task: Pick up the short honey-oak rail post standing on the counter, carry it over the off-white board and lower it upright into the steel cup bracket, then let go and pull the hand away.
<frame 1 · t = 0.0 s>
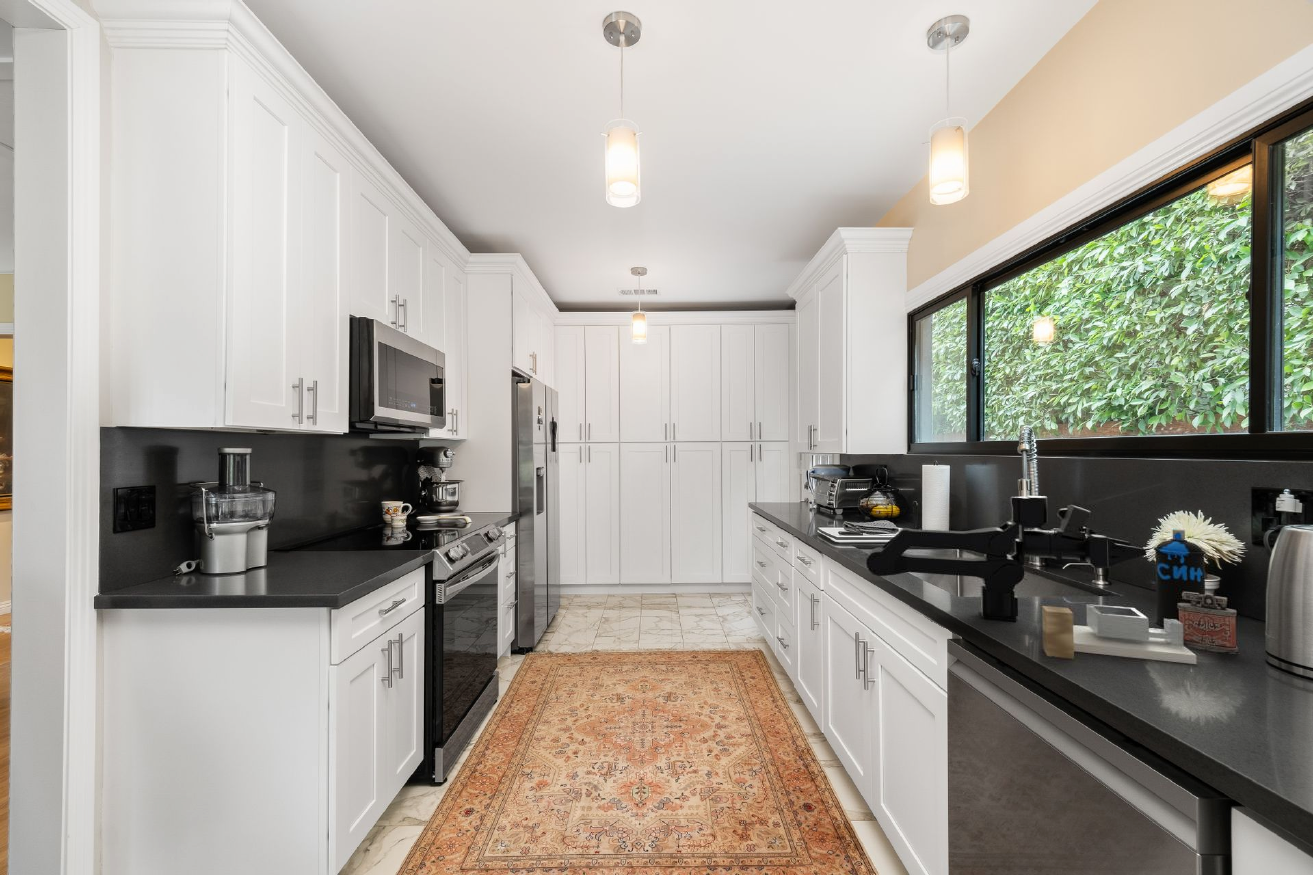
hand: (1137, 548, 122), 17 cm above the counter, tool horizontal, fingers open, 9 cm apart
cup bracket: (1134, 625, 111), on the bracket board, point 4 cm above the counter
bracket board: (1116, 645, 112), on the counter
lighter: (1207, 648, 111), on the counter
oak rail post: (1058, 653, 108), on the counter
aerosol can: (1181, 626, 124), on the counter
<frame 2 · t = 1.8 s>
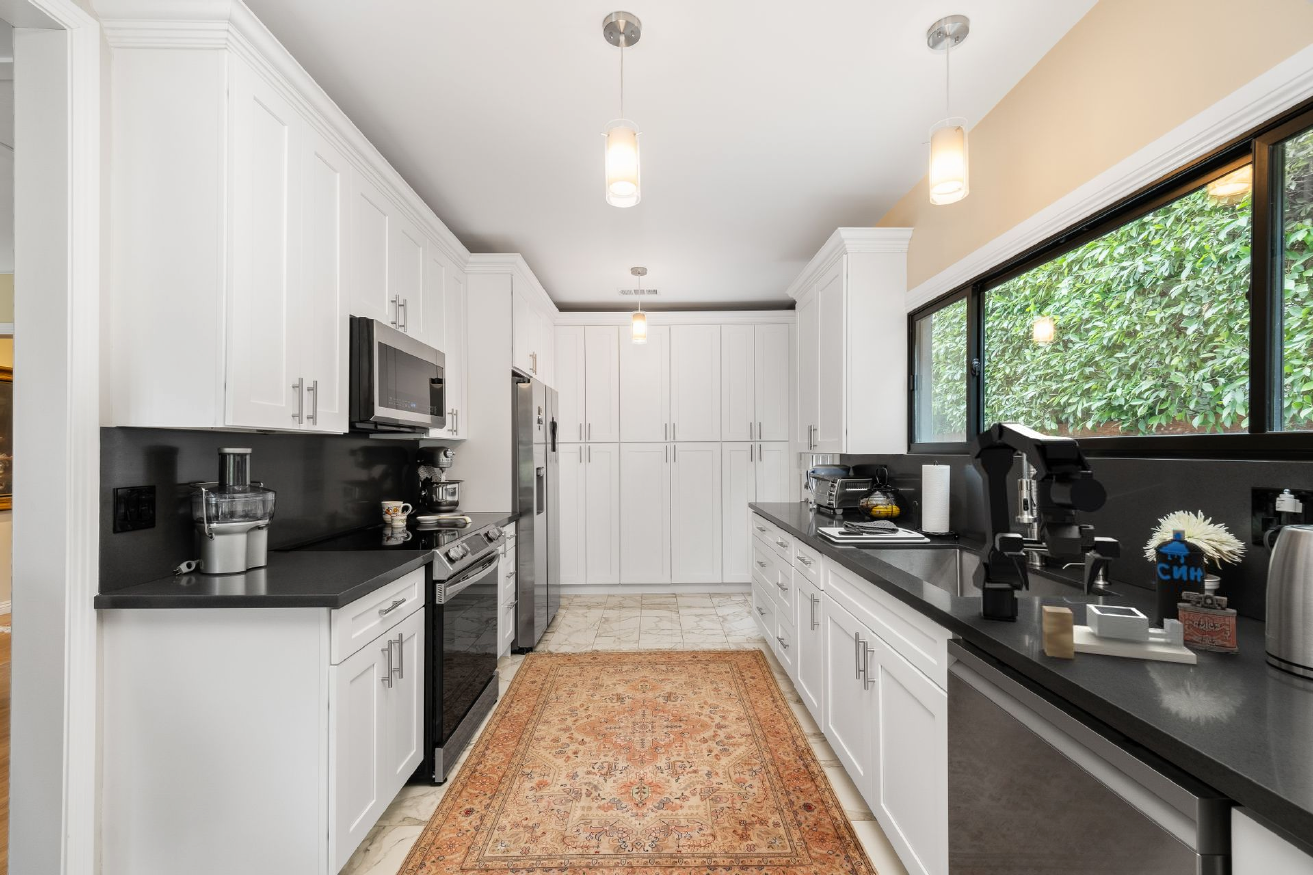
hand: (1056, 592, 109), 11 cm above the counter, tool pointing down, fingers open, 9 cm apart
nothing on the counter moved.
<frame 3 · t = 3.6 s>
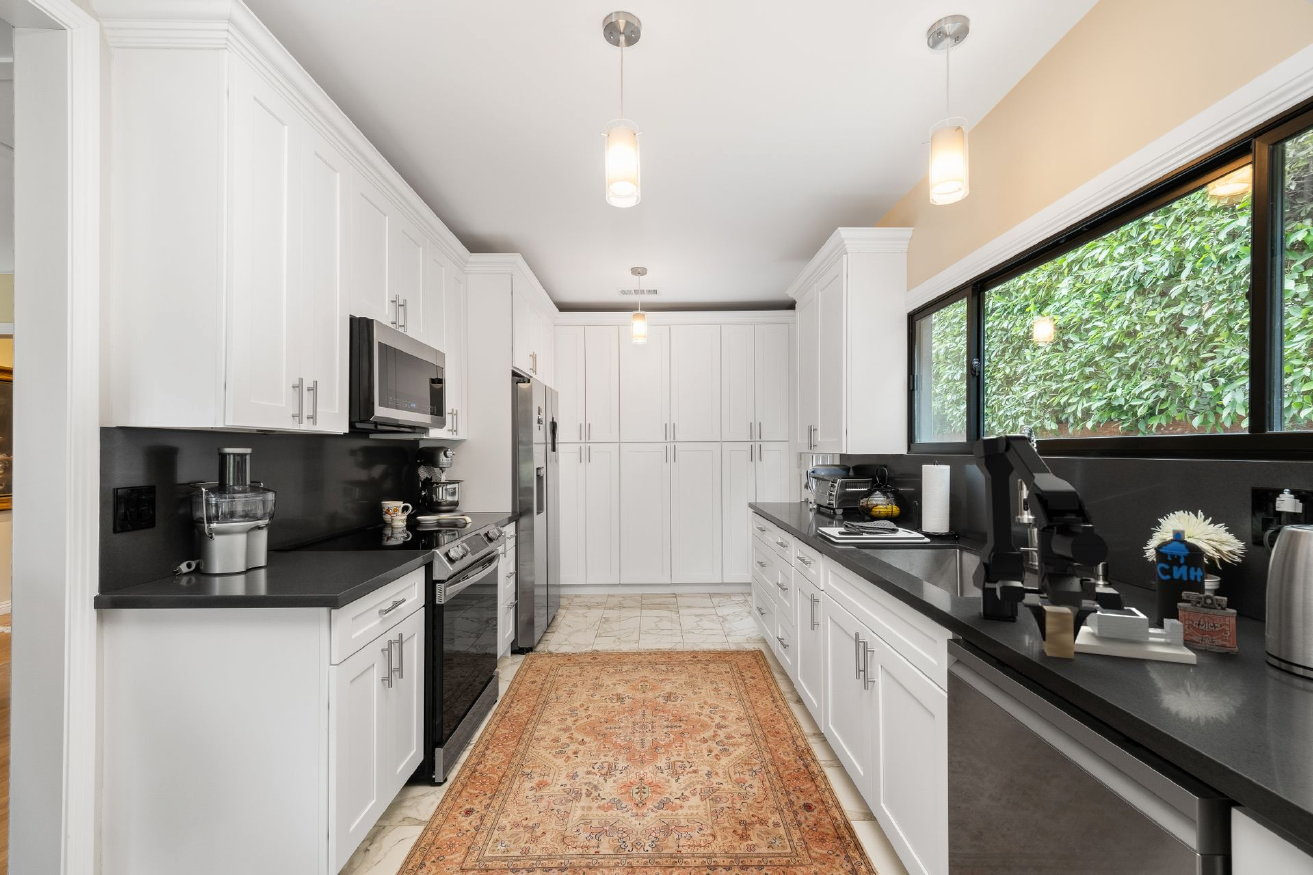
hand: (1057, 642, 108), 2 cm above the counter, tool pointing down, fingers closed on oak rail post, 4 cm apart
oak rail post: (1058, 653, 108), on the counter, touching gripper
everything else where it was.
when the fingers open (7 cm above the counter, at t = 8.1 s): oak rail post drops 2 cm, resting on cup bracket.
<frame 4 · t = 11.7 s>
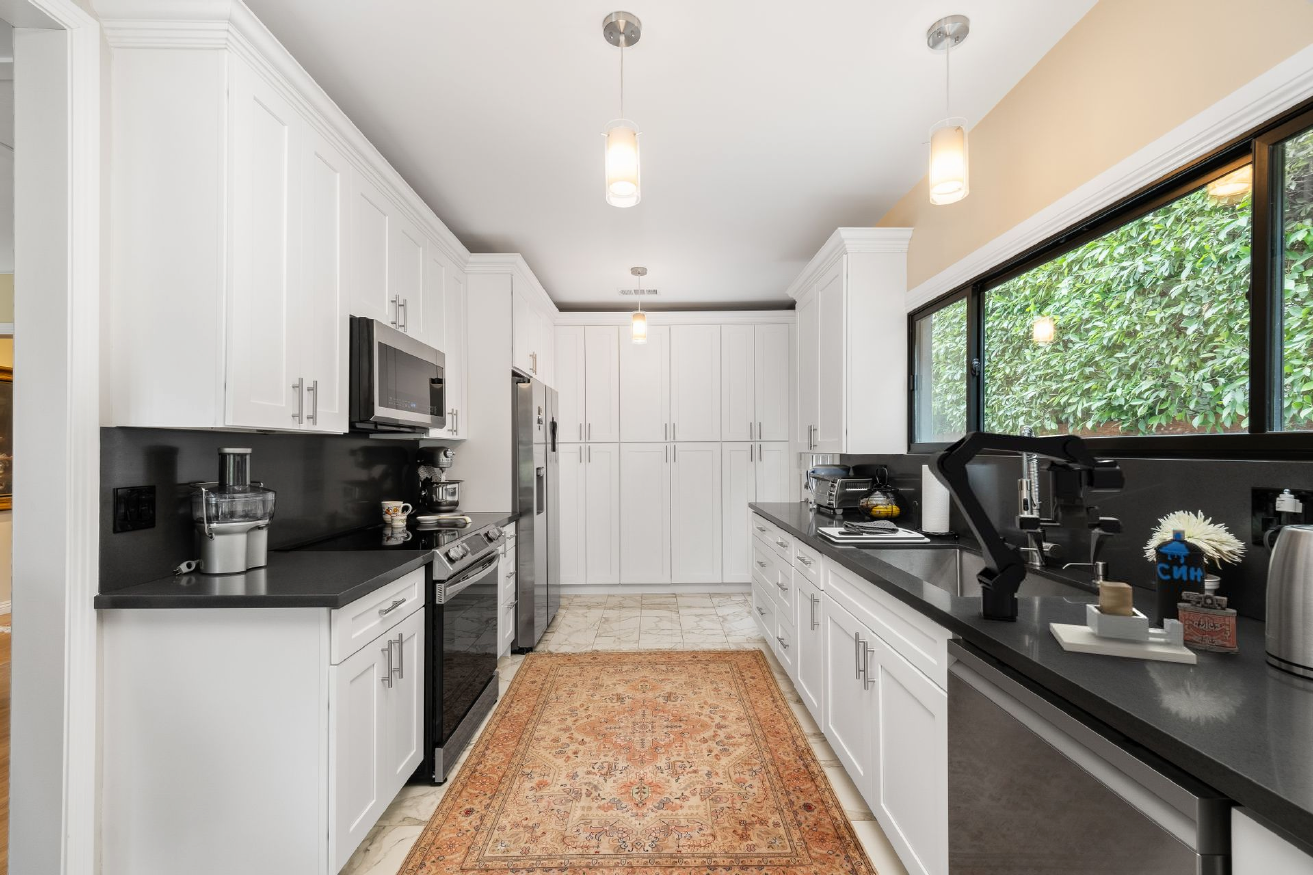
hand: (1067, 563, 131), 12 cm above the counter, tool pointing down, fingers open, 9 cm apart
oak rail post: (1116, 627, 112), point 3 cm above the counter, touching cup bracket
everything else where it was.
at the end: oak rail post 0.0 cm off-centre on the cup bracket, point 3.5 cm above the cup bracket's base; oak rail post tilted 0°; the gripper is holding nothing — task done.
